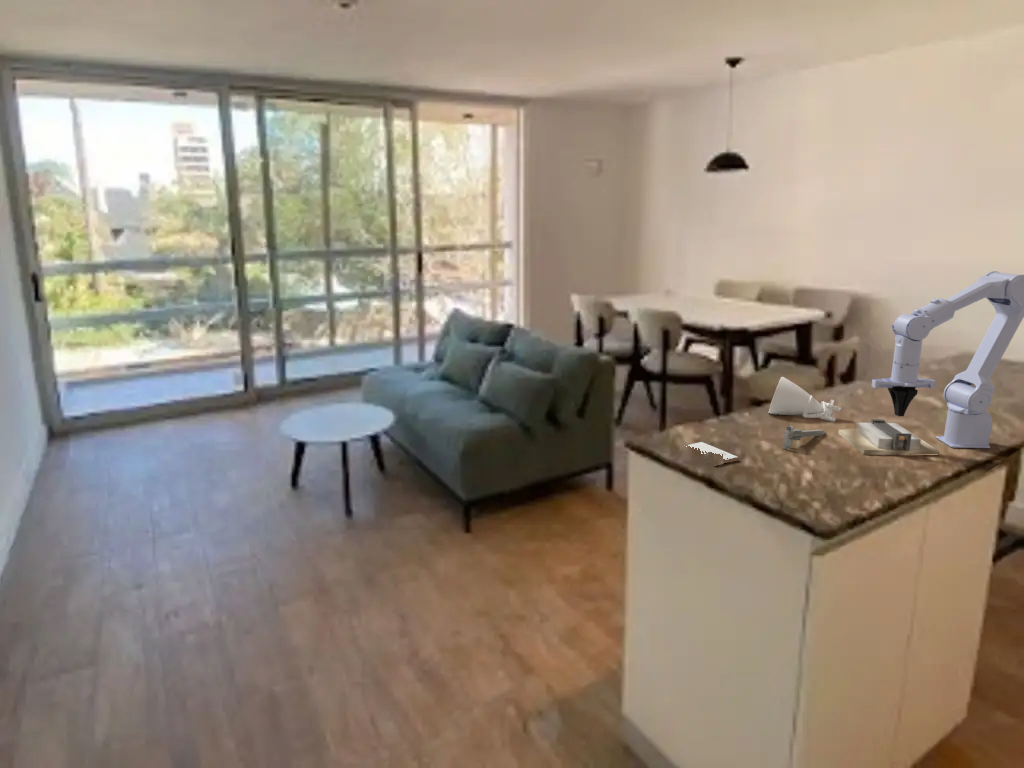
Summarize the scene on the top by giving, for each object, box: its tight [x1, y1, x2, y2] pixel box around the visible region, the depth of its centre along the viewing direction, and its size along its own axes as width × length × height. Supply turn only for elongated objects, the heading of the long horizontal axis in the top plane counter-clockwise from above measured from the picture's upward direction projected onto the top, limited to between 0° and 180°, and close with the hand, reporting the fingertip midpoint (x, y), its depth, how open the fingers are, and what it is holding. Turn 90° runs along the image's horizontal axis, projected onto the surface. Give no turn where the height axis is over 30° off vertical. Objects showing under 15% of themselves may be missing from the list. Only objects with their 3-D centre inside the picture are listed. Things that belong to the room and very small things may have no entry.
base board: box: [837, 418, 940, 456], centre depth 178 cm, size 18×16×6 cm
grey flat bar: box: [873, 421, 905, 440], centre depth 177 cm, size 3×13×1 cm, turn 176°
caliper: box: [782, 425, 826, 450], centre depth 181 cm, size 20×1×6 cm, turn 129°
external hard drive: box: [686, 441, 739, 460], centre depth 172 cm, size 2×8×12 cm
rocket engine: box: [768, 376, 842, 423], centre depth 202 cm, size 12×12×18 cm
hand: (899, 415), depth 175 cm, fingers closed
